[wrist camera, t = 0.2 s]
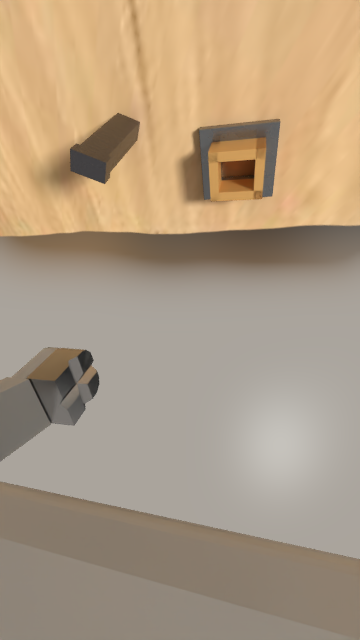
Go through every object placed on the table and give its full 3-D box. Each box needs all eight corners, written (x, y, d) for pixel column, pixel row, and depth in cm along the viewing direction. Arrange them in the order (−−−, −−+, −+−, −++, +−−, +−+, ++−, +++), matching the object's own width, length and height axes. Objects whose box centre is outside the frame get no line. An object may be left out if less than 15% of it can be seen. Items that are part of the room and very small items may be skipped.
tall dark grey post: (113, 130, 51) (70, 170, 40) (115, 111, 49) (70, 148, 37) (139, 141, 52) (104, 183, 40) (142, 123, 49) (106, 162, 38)
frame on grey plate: (205, 196, 57) (200, 212, 53) (200, 127, 48) (194, 139, 44) (272, 192, 54) (272, 209, 50) (279, 118, 45) (281, 131, 41)
